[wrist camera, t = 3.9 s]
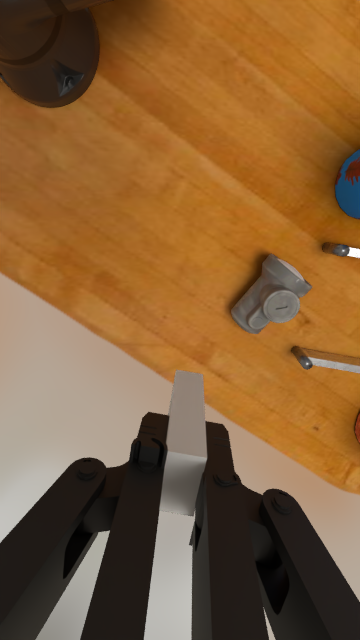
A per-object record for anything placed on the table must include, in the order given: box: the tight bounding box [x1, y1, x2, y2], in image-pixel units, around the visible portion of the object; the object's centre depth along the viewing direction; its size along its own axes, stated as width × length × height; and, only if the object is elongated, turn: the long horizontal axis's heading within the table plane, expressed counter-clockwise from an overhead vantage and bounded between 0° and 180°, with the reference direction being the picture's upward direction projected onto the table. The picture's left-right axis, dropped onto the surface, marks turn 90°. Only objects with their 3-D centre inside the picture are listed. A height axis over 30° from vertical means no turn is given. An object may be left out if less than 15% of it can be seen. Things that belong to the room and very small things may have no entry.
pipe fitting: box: [231, 254, 312, 334], centre depth 49 cm, size 12×8×10 cm
